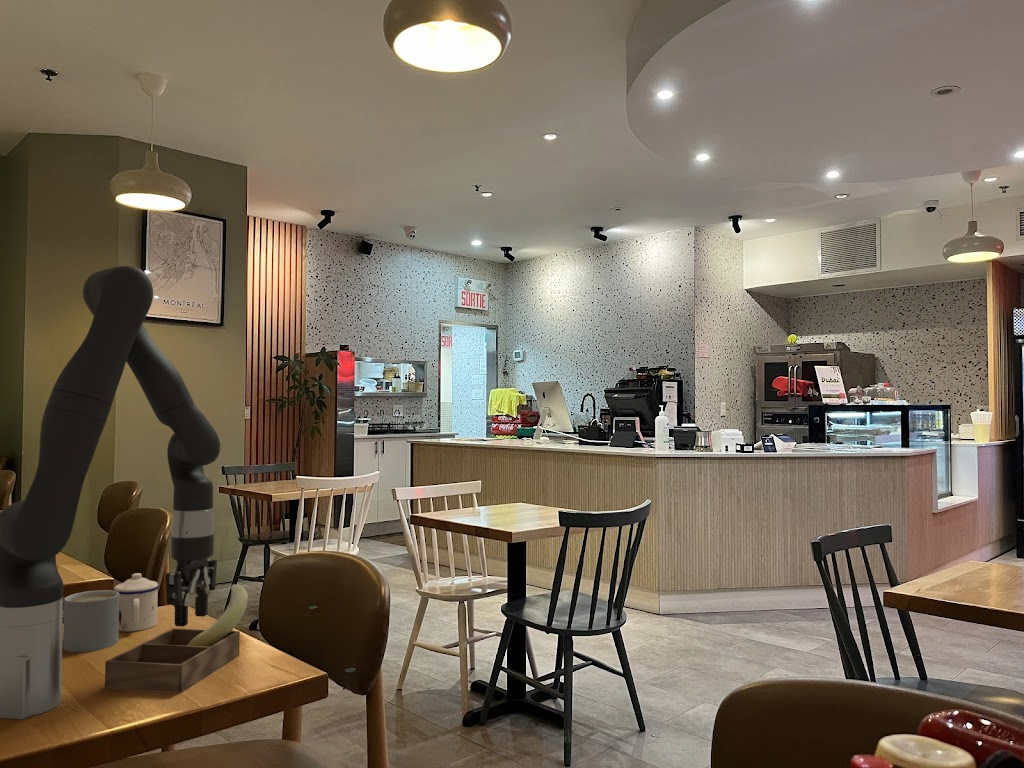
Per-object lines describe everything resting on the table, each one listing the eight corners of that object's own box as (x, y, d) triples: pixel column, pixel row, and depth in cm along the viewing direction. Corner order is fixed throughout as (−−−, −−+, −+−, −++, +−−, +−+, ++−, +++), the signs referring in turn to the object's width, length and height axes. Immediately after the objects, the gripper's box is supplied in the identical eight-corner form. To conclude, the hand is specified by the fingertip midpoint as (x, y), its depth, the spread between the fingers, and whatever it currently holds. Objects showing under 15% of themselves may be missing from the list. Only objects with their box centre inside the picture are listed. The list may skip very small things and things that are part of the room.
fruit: (198, 653, 140) (209, 663, 142) (252, 587, 150) (262, 597, 151) (178, 646, 145) (189, 655, 147) (232, 582, 154) (242, 592, 156)
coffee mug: (121, 646, 154) (122, 597, 154) (65, 655, 148) (66, 604, 149) (112, 630, 165) (113, 584, 165) (59, 638, 159) (60, 591, 160)
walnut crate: (181, 695, 128) (181, 665, 128) (104, 690, 130) (105, 661, 130) (239, 657, 148) (239, 631, 148) (171, 653, 150) (172, 628, 150)
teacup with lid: (113, 623, 170) (114, 571, 171) (157, 618, 174) (158, 568, 175) (111, 638, 160) (112, 582, 160) (158, 632, 164) (159, 578, 164)
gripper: (190, 539, 137) (188, 632, 136) (230, 527, 151) (229, 611, 150) (151, 538, 138) (150, 631, 137) (195, 526, 152) (194, 610, 152)
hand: (191, 620), depth 144 cm, fingers open, 6 cm apart
